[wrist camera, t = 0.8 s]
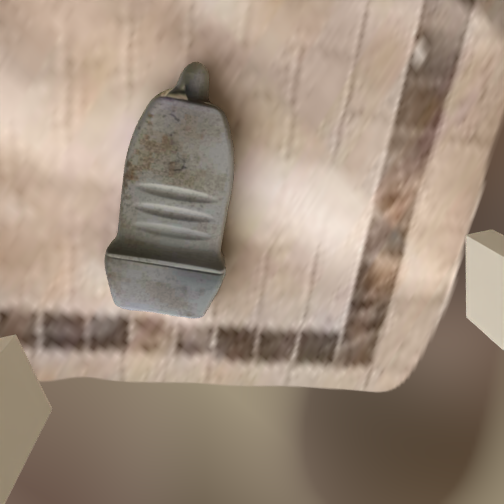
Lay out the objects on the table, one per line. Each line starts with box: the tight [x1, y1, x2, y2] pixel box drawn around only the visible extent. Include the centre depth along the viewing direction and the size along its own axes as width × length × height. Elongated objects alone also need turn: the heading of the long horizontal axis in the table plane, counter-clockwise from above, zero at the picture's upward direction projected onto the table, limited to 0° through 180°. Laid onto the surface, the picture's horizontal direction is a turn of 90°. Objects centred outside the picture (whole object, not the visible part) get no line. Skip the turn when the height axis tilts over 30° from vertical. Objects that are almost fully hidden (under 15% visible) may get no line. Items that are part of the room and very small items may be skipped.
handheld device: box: [105, 62, 234, 318], centre depth 33 cm, size 10×20×5 cm, turn 169°
